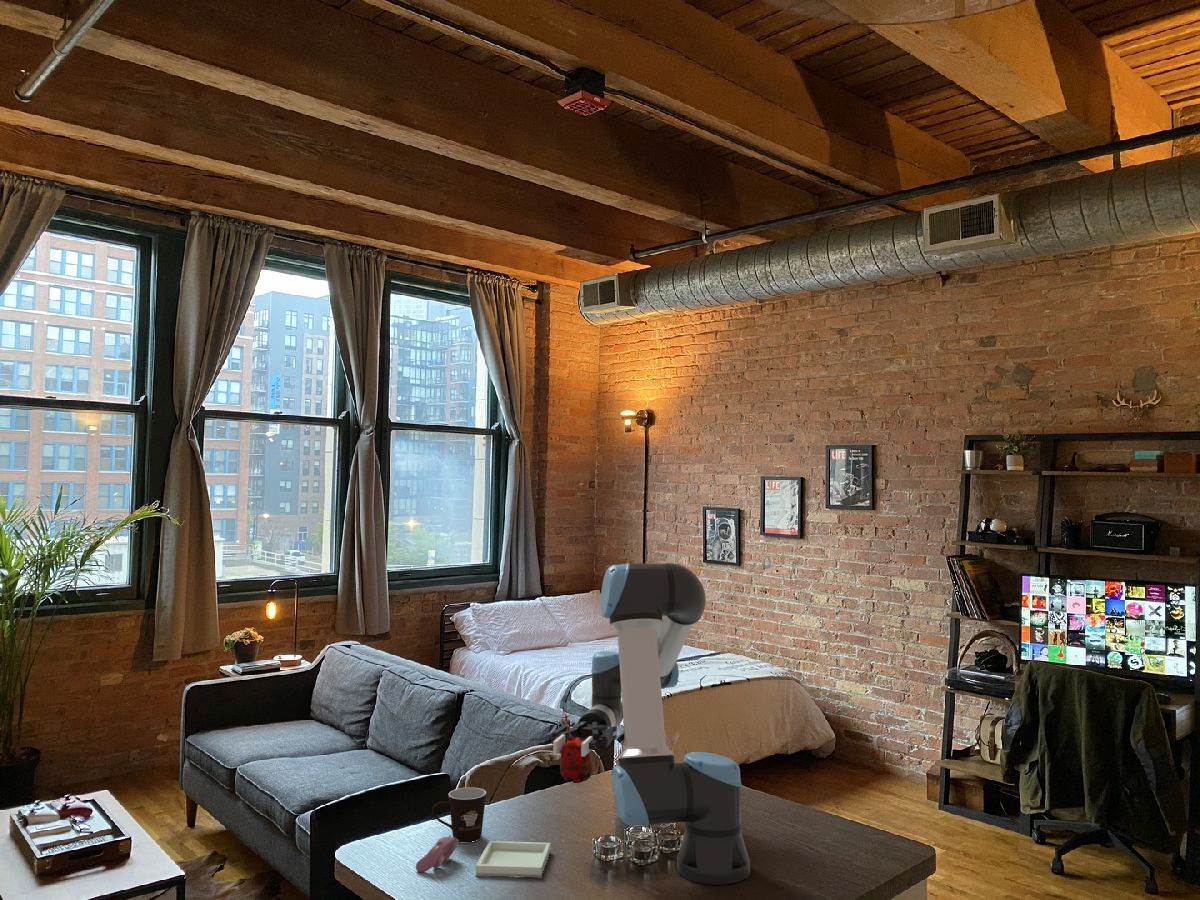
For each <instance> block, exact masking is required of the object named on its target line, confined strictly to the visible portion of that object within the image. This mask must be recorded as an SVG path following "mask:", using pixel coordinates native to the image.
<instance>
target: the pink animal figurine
mask: <svg viewBox="0 0 1200 900" xmlns="http://www.w3.org/2000/svg"><path fill="white" fill-rule="evenodd" d="M459 844H460V843H459V840H458V839H456V838H455V837H453V836H452V835H450V834H449V835H448V836H444V837H441V838H439V839H438V840H437V841H436V843H435V844H434V845H433V846H432V847H431V848H430V850H429V851H428V852H427V854H425V855H424V856H423V857H422V858H419V860H418V861H417V862H416V864H415V869H416V871H417V872H418V873H425V872H427V871H429V870H430V869H432V868H434V869H435V870H438V869H439V868H440V867H441V865H442V864H443V863H444V864H446V863H447V862H448V861H449V859H450V857H451V855H452V854H453V853H454V852H455V850H456V849H457V847H458V845H459ZM445 862H446V863H445ZM438 867H439V868H438ZM437 868H438V869H437Z"/></svg>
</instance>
